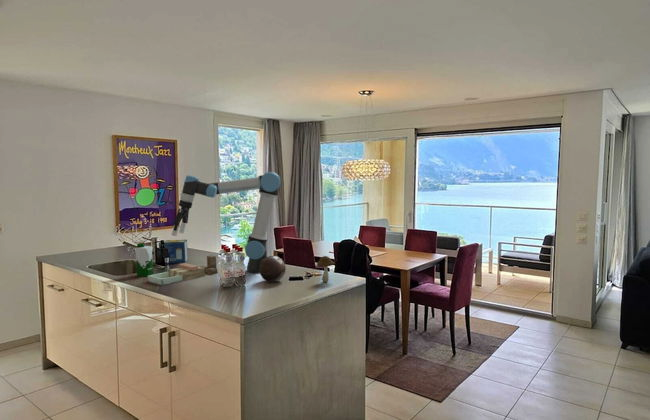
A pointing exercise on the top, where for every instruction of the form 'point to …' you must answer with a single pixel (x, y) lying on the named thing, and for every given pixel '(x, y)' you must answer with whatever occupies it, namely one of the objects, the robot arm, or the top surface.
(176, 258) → the protein box
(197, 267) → the tile
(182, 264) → the tile
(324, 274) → the mushroom
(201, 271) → the bench plate
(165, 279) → the tray
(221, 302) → the top surface
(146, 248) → the milk carton
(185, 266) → the tile
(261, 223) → the robot arm
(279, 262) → the wooden sphere
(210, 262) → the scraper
